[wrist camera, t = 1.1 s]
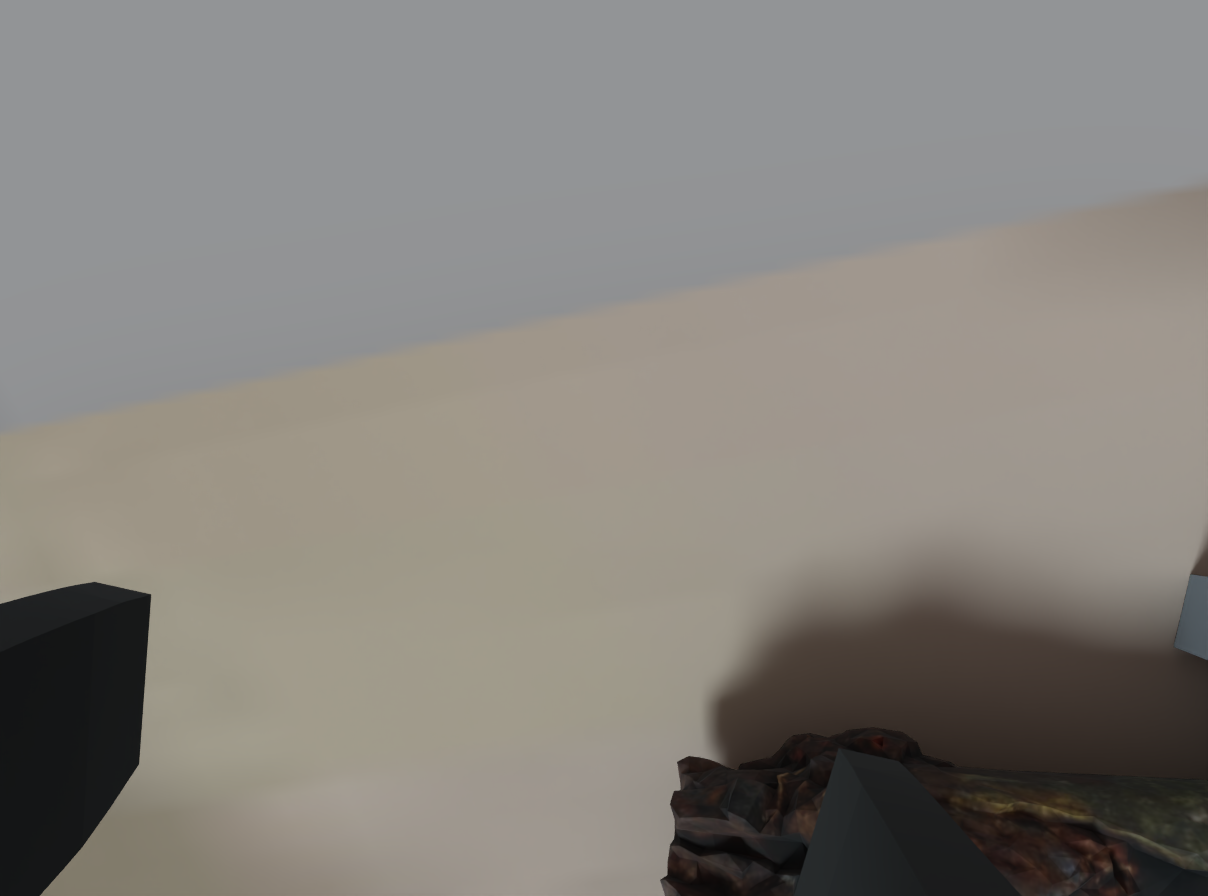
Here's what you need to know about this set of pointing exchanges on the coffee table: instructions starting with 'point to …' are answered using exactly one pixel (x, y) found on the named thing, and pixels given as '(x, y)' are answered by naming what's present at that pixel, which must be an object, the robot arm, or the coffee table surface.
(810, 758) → the jagged brown rock
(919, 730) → the coffee table surface
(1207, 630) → the grey rectangular tray
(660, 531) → the coffee table surface
